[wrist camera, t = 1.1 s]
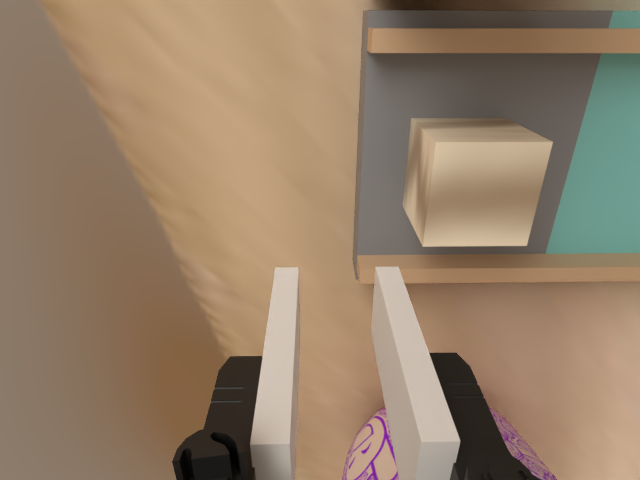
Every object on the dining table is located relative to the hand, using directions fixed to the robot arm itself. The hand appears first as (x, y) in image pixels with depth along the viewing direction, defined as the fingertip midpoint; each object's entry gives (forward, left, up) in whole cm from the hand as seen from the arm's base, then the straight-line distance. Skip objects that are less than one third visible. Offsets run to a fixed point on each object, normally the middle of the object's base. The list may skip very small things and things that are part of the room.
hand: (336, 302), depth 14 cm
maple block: (0, +9, -16) cm, 18 cm away
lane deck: (0, +19, -19) cm, 26 cm away
